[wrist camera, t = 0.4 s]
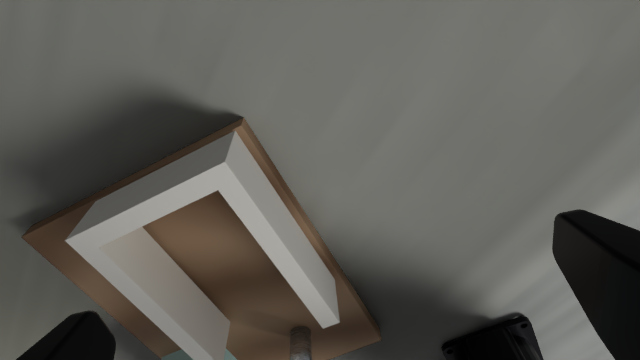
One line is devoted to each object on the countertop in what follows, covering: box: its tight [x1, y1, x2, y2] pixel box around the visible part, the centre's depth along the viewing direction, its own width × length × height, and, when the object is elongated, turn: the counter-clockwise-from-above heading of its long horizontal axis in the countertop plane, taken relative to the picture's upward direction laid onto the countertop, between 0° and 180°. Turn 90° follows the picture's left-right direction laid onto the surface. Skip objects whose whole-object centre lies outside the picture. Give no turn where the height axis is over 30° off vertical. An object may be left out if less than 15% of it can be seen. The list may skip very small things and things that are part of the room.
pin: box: [290, 326, 312, 360], centre depth 25 cm, size 1×1×4 cm
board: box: [22, 118, 382, 360], centre depth 25 cm, size 18×14×1 cm
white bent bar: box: [65, 131, 340, 360], centre depth 21 cm, size 11×8×3 cm
